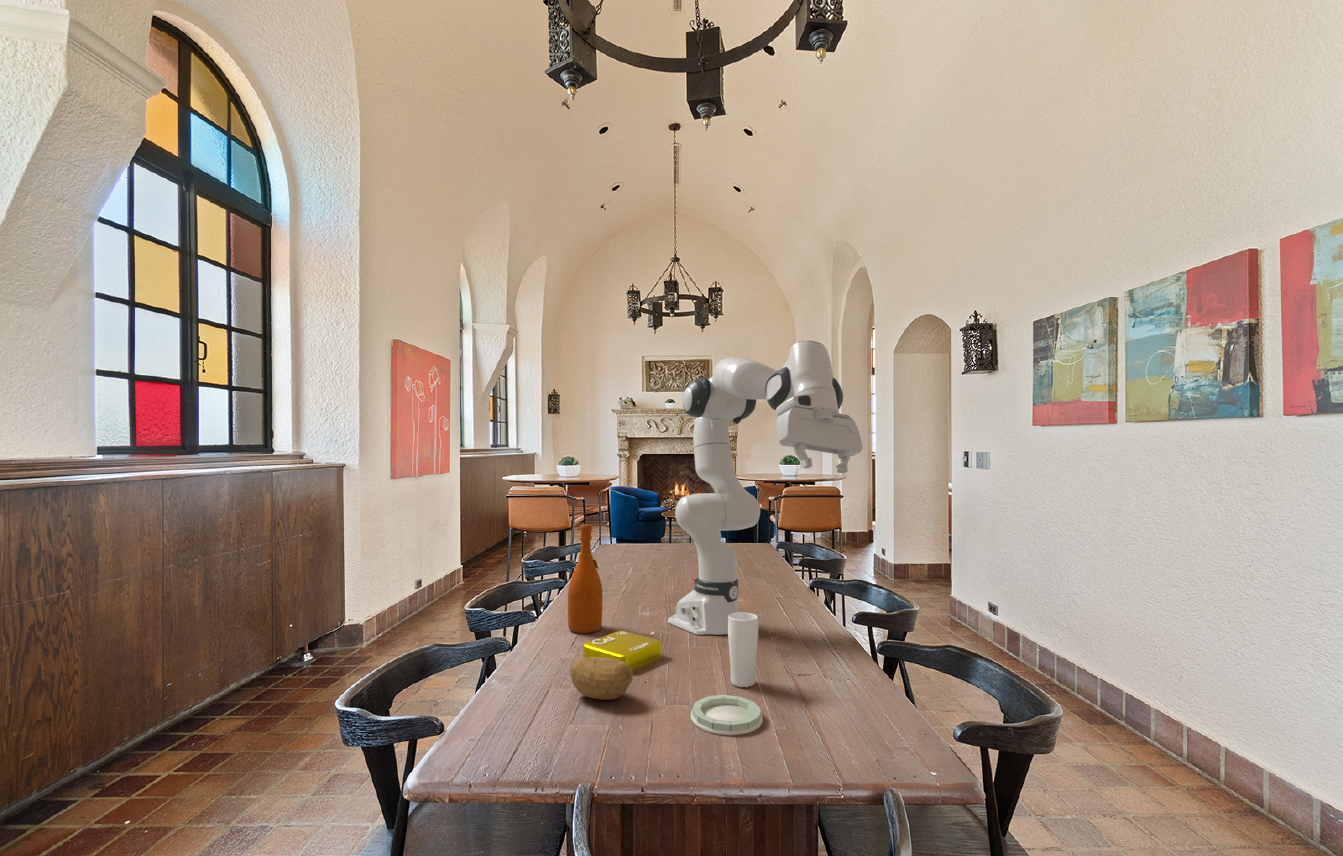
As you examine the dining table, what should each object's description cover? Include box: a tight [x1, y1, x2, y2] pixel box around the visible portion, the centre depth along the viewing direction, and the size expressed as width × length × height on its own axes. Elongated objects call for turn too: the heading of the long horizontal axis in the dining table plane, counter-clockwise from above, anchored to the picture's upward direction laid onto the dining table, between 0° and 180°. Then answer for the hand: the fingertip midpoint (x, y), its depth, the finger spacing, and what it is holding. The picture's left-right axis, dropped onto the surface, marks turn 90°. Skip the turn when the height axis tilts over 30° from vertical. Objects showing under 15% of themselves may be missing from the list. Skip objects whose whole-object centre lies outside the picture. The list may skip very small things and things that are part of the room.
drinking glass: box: [727, 611, 759, 688], centre depth 136 cm, size 7×7×15 cm
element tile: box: [582, 630, 663, 672], centre depth 152 cm, size 15×15×5 cm
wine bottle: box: [567, 523, 603, 634], centre depth 175 cm, size 10×10×30 cm
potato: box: [569, 657, 634, 701], centre depth 128 cm, size 10×14×8 cm
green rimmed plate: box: [690, 694, 764, 737], centre depth 119 cm, size 14×14×2 cm
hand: (825, 470), depth 126 cm, fingers open, 8 cm apart
